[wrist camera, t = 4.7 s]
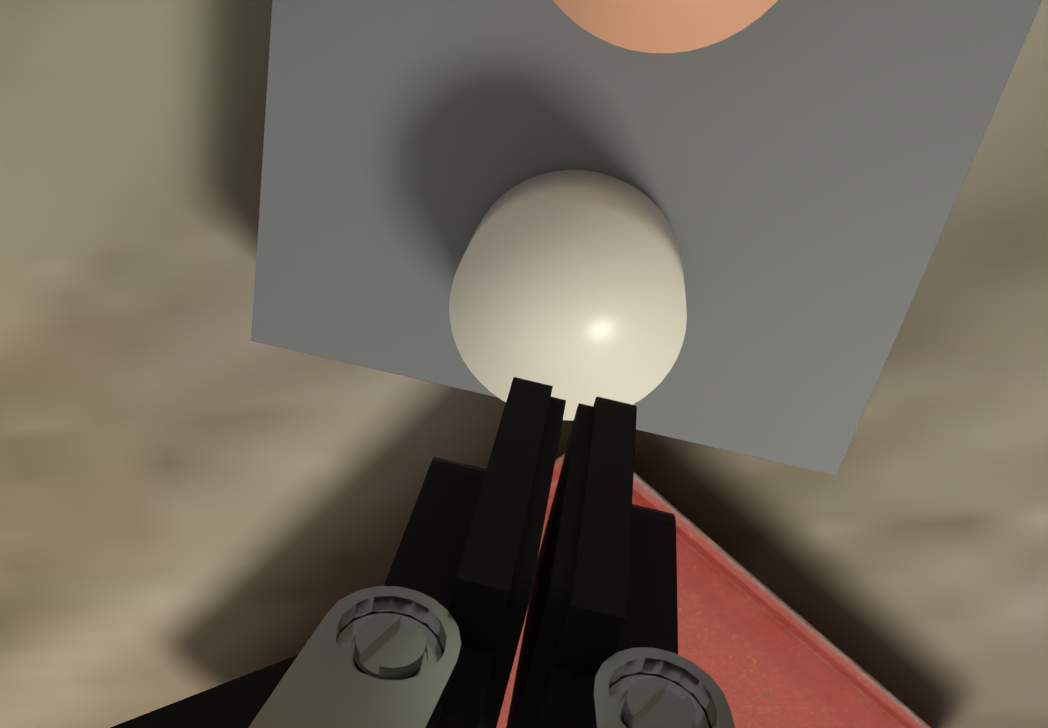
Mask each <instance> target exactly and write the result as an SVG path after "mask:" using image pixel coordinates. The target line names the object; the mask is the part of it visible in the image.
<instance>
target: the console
mask: <svg viewBox="0 0 1048 728" xmlns="http://www.w3.org/2000/svg"><path fill="white" fill-rule="evenodd" d="M1041 2H1042V0H778V1H777V2H776V3H775V4H774V5H773V6H772V7H771V8H769V9H768V10H767V11H766V12H765V13H764V14H763V15H762V16H761V17H760V18H758V19H757V20H755V21H754V22H753V23H751V24H750V25H748V26H747V27H746V28H744V29H743V30H741V31H739V32H737V33H736V34H734V35H732V36H730V37H728V38H726V39H724V40H722V41H719V42H717V43H714V44H712V45H709V46H707V47H703V48H699V49H695V50H691V51H685V52H677V53H646V52H640V51H633V50H629V49H626V48H622V47H619V46H616V45H613V44H611V43H608V42H606V41H604V40H602V39H600V38H597V37H596V36H594V35H592V34H591V33H589V32H588V31H586V30H584V29H583V28H581V27H580V26H579V25H578V24H576V23H575V22H574V21H573V20H572V19H570V18H569V17H568V16H567V15H566V14H565V13H564V12H563V11H562V10H561V9H560V8H559V7H558V6H557V5H556V3H555V2H554V1H553V0H272V15H271V31H270V47H269V63H268V79H267V95H266V111H265V127H264V144H263V160H262V176H261V192H260V208H259V224H258V240H257V256H256V273H255V289H254V305H253V321H252V337H251V341H255V342H259V343H264V344H268V345H272V346H277V347H281V348H285V349H290V350H294V351H298V352H303V353H307V354H311V355H316V356H320V357H324V358H329V359H333V360H337V361H342V362H346V363H350V364H355V365H359V366H363V367H368V368H372V369H376V370H381V371H385V372H389V373H394V374H398V375H402V376H407V377H411V378H415V379H420V380H424V381H428V382H433V383H437V384H441V385H446V386H450V387H454V388H459V389H463V390H467V391H472V392H476V393H480V394H485V395H489V396H493V397H497V396H495V395H494V394H493V393H491V392H490V391H489V390H488V389H487V388H486V387H485V386H483V385H482V384H481V383H480V382H479V381H478V379H477V378H476V377H475V376H474V375H473V374H472V372H471V371H470V370H469V368H468V367H467V365H466V364H465V362H464V361H463V359H462V357H461V355H460V353H459V351H458V349H457V346H456V343H455V340H454V337H453V334H452V330H451V324H450V317H449V301H450V291H451V287H452V283H453V279H454V276H455V274H456V271H457V269H458V266H459V264H460V262H461V260H462V258H463V256H464V254H465V252H466V250H467V247H468V245H469V243H470V241H471V239H472V237H473V235H474V233H475V231H476V229H477V227H478V225H479V223H480V222H481V220H482V218H483V217H484V215H485V214H486V212H487V211H488V210H489V209H490V207H491V206H492V205H493V204H494V203H495V202H496V201H497V200H498V199H499V198H500V197H501V196H502V195H503V194H504V193H506V192H507V191H509V190H510V189H511V188H513V187H514V186H516V185H518V184H519V183H521V182H523V181H525V180H527V179H530V178H532V177H535V176H538V175H540V174H544V173H549V172H553V171H560V170H587V171H593V172H599V173H603V174H606V175H609V176H613V177H615V178H617V179H620V180H622V181H624V182H626V183H628V184H630V185H631V186H633V187H635V188H636V189H638V190H640V191H641V192H642V193H643V194H645V195H646V196H647V197H648V198H650V199H651V200H652V201H653V202H654V204H655V205H656V206H657V207H658V208H659V209H660V210H661V211H662V213H663V214H664V215H665V217H666V218H667V220H668V221H669V223H670V225H671V227H672V229H673V230H674V232H675V234H676V237H677V240H678V243H679V246H680V250H681V255H682V259H683V271H684V283H685V295H686V309H687V322H686V332H685V336H684V340H683V345H682V347H681V350H680V352H679V355H678V357H677V359H676V361H675V363H674V365H673V366H672V368H671V370H670V371H669V373H668V374H667V375H666V377H665V378H664V379H663V381H662V382H661V383H660V384H659V385H658V386H657V387H656V388H655V389H654V390H653V391H652V392H650V393H649V394H648V395H647V396H645V397H644V398H643V399H641V400H640V401H638V402H636V403H635V404H633V405H636V406H637V417H636V430H641V431H645V432H649V433H654V434H658V435H662V436H667V437H671V438H675V439H680V440H684V441H688V442H693V443H697V444H701V445H706V446H710V447H714V448H719V449H723V450H727V451H732V452H736V453H740V454H745V455H749V456H753V457H758V458H762V459H766V460H771V461H775V462H779V463H784V464H788V465H792V466H797V467H801V468H805V469H810V470H814V471H818V472H823V473H827V474H831V475H837V473H838V471H839V468H840V466H841V464H842V461H843V459H844V457H845V455H846V452H847V450H848V448H849V445H850V443H851V441H852V438H853V436H854V434H855V431H856V429H857V427H858V424H859V422H860V420H861V418H862V415H863V413H864V411H865V408H866V406H867V404H868V401H869V399H870V397H871V394H872V392H873V390H874V388H875V385H876V383H877V381H878V378H879V376H880V374H881V371H882V369H883V367H884V364H885V362H886V360H887V357H888V355H889V353H890V351H891V348H892V346H893V344H894V341H895V339H896V337H897V334H898V332H899V330H900V327H901V325H902V323H903V321H904V318H905V316H906V314H907V311H908V309H909V307H910V304H911V302H912V300H913V297H914V295H915V293H916V290H917V288H918V286H919V284H920V281H921V279H922V277H923V274H924V272H925V270H926V267H927V265H928V263H929V260H930V258H931V256H932V254H933V251H934V249H935V247H936V244H937V242H938V240H939V237H940V235H941V233H942V230H943V228H944V226H945V223H946V221H947V219H948V217H949V214H950V212H951V210H952V207H953V205H954V203H955V200H956V198H957V196H958V193H959V191H960V189H961V187H962V184H963V182H964V180H965V177H966V175H967V173H968V170H969V168H970V166H971V163H972V161H973V159H974V156H975V154H976V152H977V150H978V147H979V145H980V143H981V140H982V138H983V136H984V133H985V131H986V129H987V126H988V124H989V122H990V120H991V117H992V115H993V113H994V110H995V108H996V106H997V103H998V101H999V99H1000V96H1001V94H1002V92H1003V89H1004V87H1005V85H1006V83H1007V80H1008V78H1009V76H1010V73H1011V71H1012V69H1013V66H1014V64H1015V62H1016V59H1017V57H1018V55H1019V53H1020V50H1021V48H1022V46H1023V43H1024V41H1025V39H1026V36H1027V34H1028V32H1029V29H1030V27H1031V25H1032V23H1033V20H1034V18H1035V16H1036V13H1037V11H1038V9H1039V6H1040V4H1041Z"/></svg>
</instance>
